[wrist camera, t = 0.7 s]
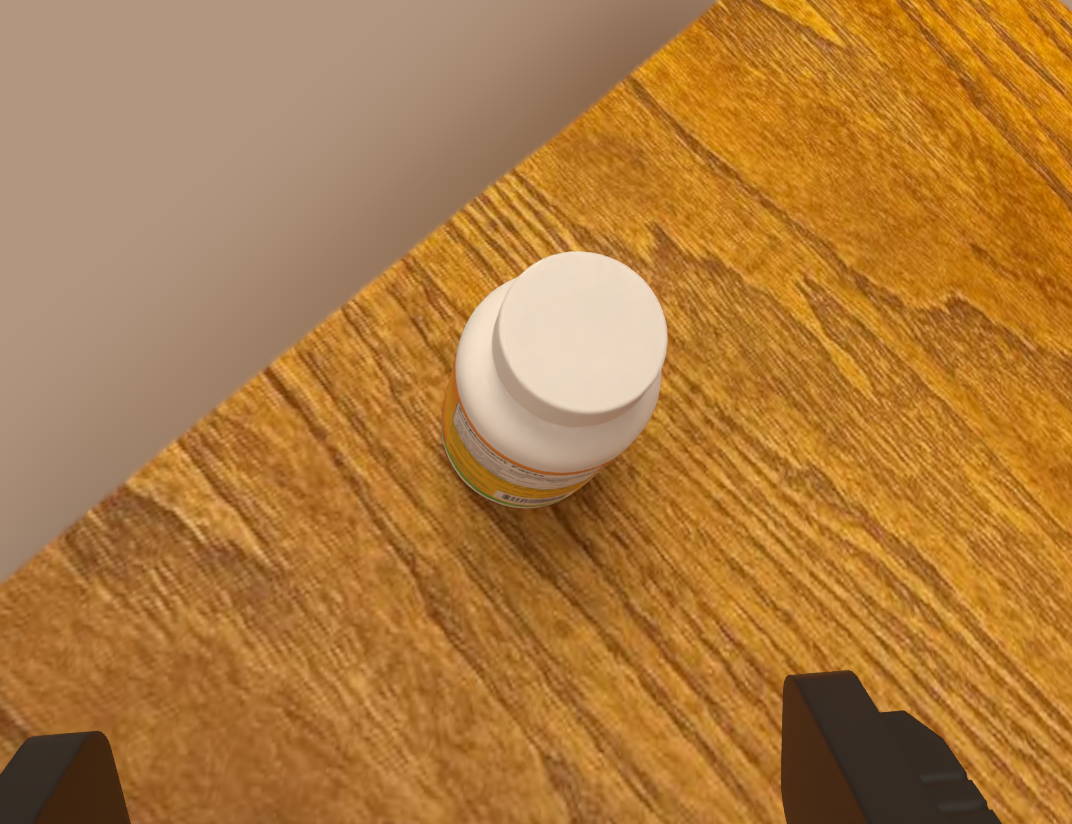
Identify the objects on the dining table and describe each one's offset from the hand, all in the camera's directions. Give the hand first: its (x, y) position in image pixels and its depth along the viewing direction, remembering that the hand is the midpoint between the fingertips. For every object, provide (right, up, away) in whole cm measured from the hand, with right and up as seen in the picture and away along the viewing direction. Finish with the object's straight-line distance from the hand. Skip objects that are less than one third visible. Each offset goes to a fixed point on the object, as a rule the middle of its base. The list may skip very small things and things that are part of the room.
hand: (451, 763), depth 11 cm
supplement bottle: (0, +4, +20) cm, 20 cm away
